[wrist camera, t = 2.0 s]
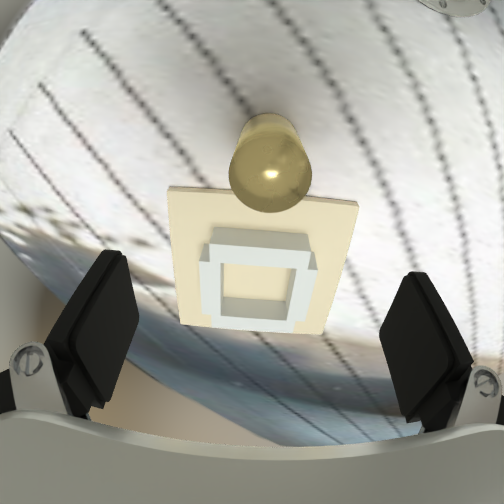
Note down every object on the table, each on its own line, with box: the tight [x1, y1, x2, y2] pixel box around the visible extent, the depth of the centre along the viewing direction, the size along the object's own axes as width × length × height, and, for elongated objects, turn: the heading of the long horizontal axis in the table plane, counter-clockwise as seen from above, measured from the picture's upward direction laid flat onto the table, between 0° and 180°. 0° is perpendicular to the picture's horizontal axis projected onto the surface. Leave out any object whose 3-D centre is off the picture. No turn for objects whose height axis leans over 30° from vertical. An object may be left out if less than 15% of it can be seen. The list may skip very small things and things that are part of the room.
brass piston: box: [229, 113, 312, 213], centre depth 22 cm, size 5×5×9 cm
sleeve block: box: [167, 187, 359, 334], centre depth 32 cm, size 18×18×4 cm
